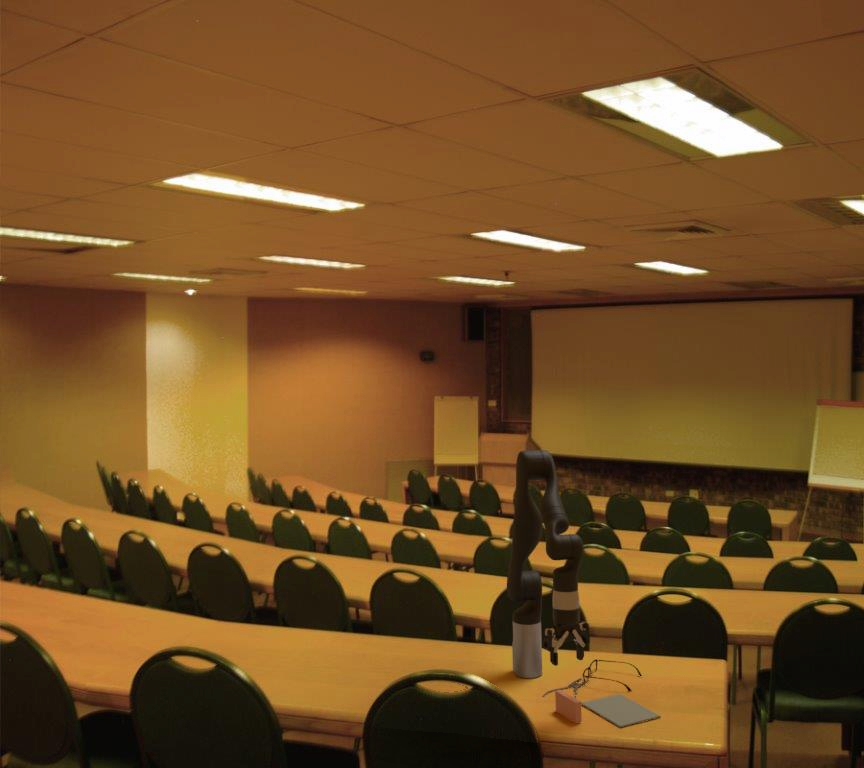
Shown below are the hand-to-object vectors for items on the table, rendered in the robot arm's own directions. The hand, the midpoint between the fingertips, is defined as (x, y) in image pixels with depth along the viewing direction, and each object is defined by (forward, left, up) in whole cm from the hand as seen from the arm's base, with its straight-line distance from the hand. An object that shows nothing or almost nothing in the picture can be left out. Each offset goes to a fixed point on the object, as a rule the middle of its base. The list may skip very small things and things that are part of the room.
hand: (567, 662), depth 229 cm
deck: (0, 0, -16) cm, 16 cm away
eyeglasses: (-16, +28, -16) cm, 36 cm away
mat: (+4, +15, -15) cm, 22 cm away
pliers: (-17, +11, -16) cm, 26 cm away
